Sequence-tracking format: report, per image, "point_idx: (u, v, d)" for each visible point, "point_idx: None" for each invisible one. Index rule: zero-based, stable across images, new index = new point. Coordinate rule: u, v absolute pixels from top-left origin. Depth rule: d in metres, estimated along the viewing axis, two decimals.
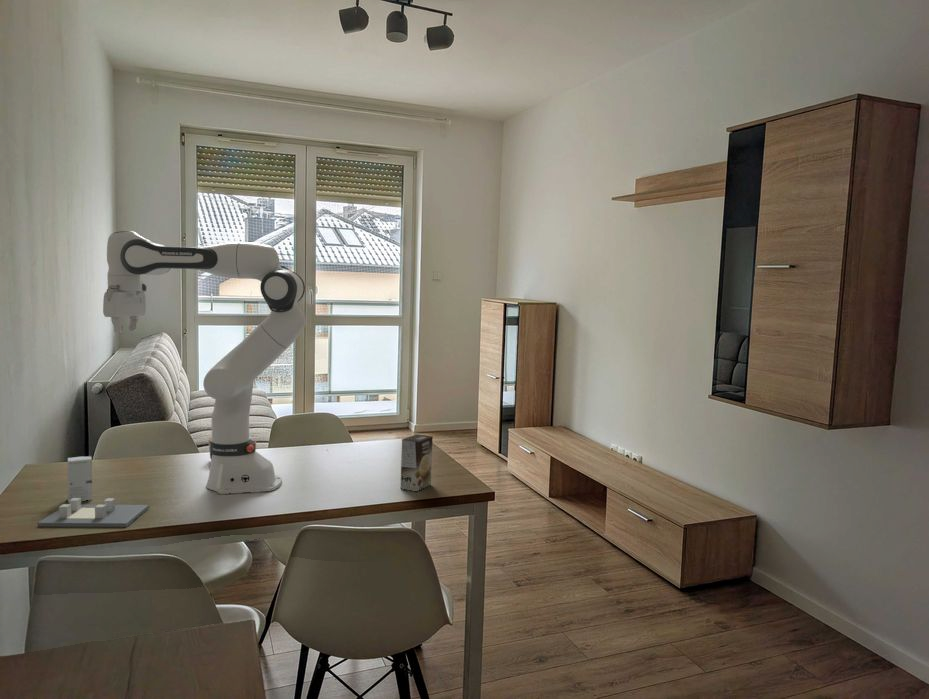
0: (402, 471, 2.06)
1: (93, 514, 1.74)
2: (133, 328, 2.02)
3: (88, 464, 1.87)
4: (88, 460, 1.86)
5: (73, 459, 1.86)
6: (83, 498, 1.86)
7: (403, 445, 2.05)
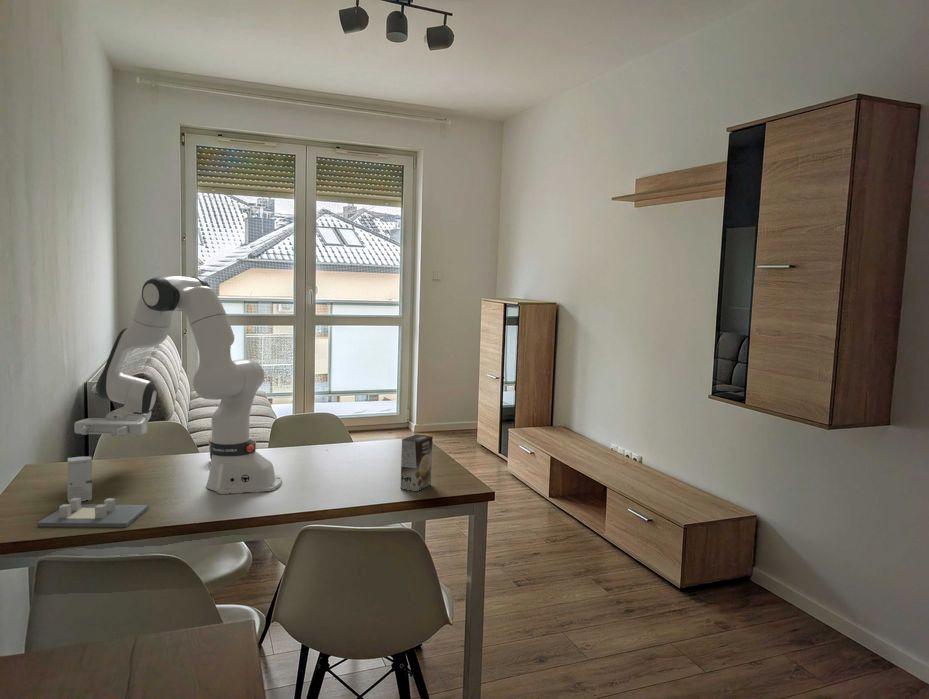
0: (402, 470, 2.06)
1: (93, 514, 1.74)
2: None
3: (88, 464, 1.87)
4: (88, 460, 1.86)
5: (73, 459, 1.86)
6: (83, 498, 1.86)
7: (403, 445, 2.05)
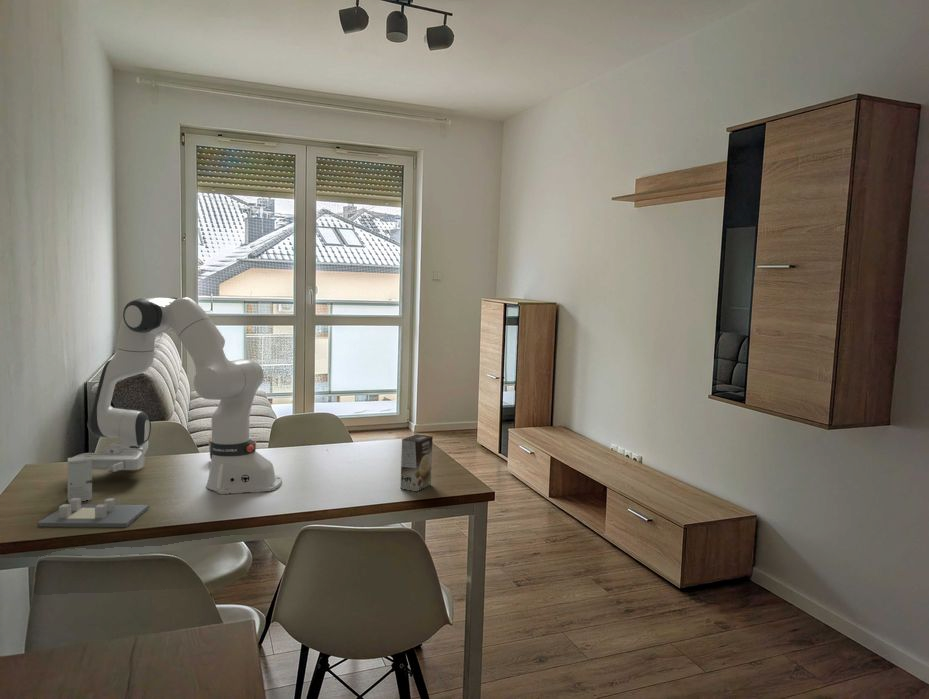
0: (402, 470, 2.06)
1: (93, 514, 1.74)
2: None
3: (88, 464, 1.87)
4: (88, 460, 1.86)
5: (73, 459, 1.86)
6: (83, 498, 1.86)
7: (403, 445, 2.05)
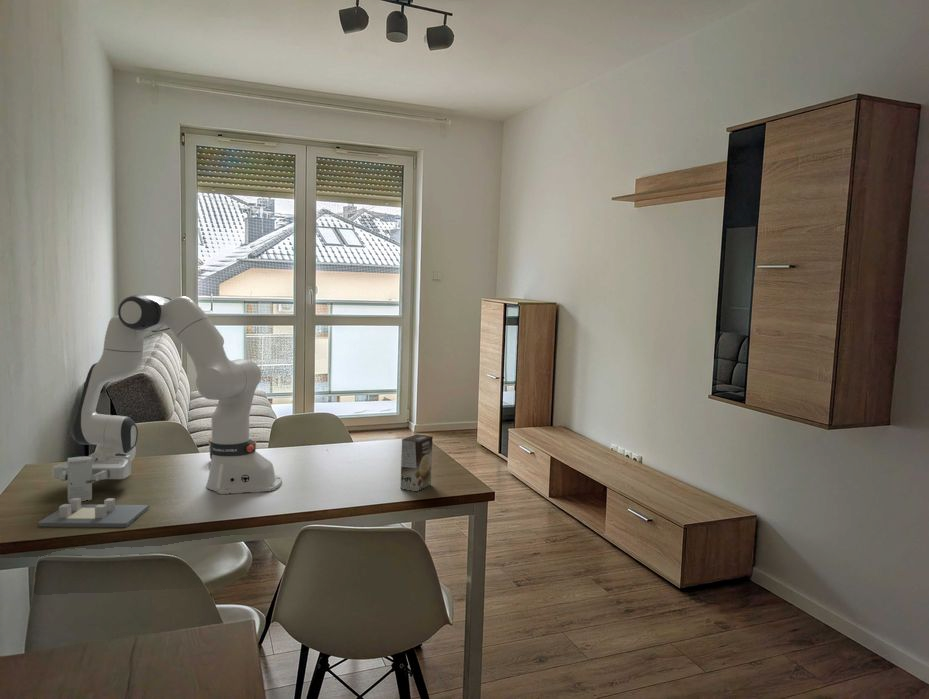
0: (402, 470, 2.06)
1: (93, 514, 1.74)
2: None
3: (88, 464, 1.87)
4: (88, 460, 1.86)
5: (73, 459, 1.86)
6: (83, 497, 1.86)
7: (403, 445, 2.05)
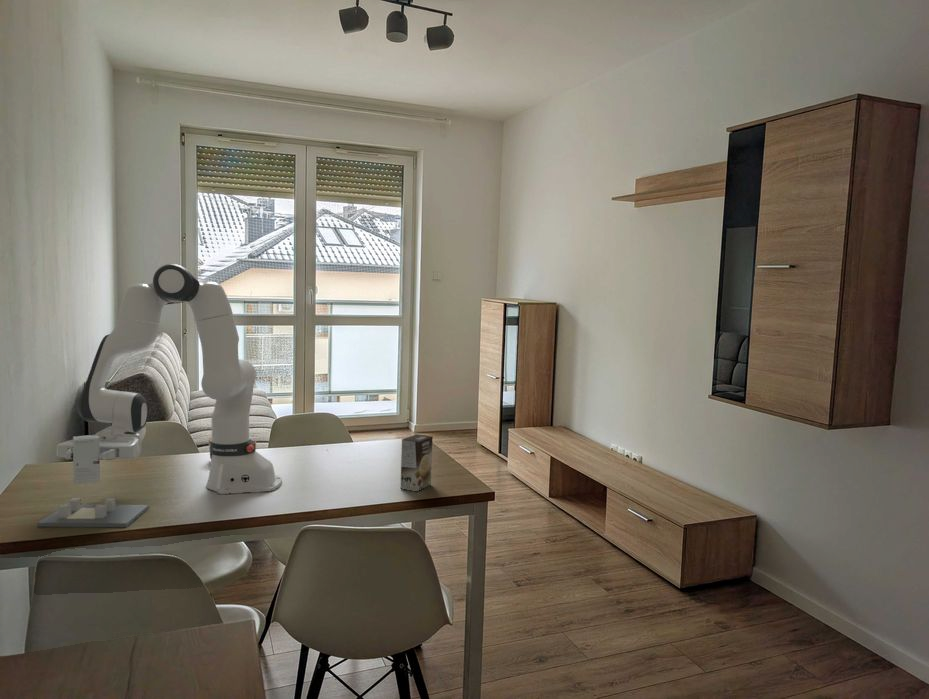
0: (402, 470, 2.06)
1: (93, 514, 1.74)
2: None
3: (95, 443, 1.72)
4: (95, 439, 1.72)
5: (79, 437, 1.72)
6: (90, 479, 1.72)
7: (403, 445, 2.05)
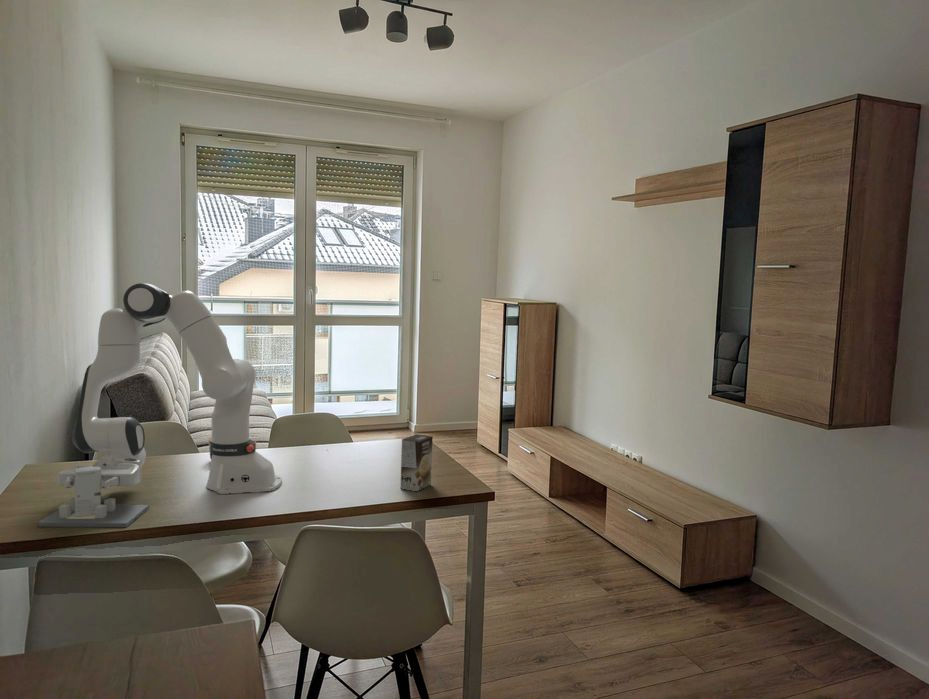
0: (402, 470, 2.06)
1: None
2: None
3: (96, 475, 1.73)
4: (97, 471, 1.73)
5: (81, 469, 1.72)
6: (91, 511, 1.73)
7: (403, 445, 2.05)
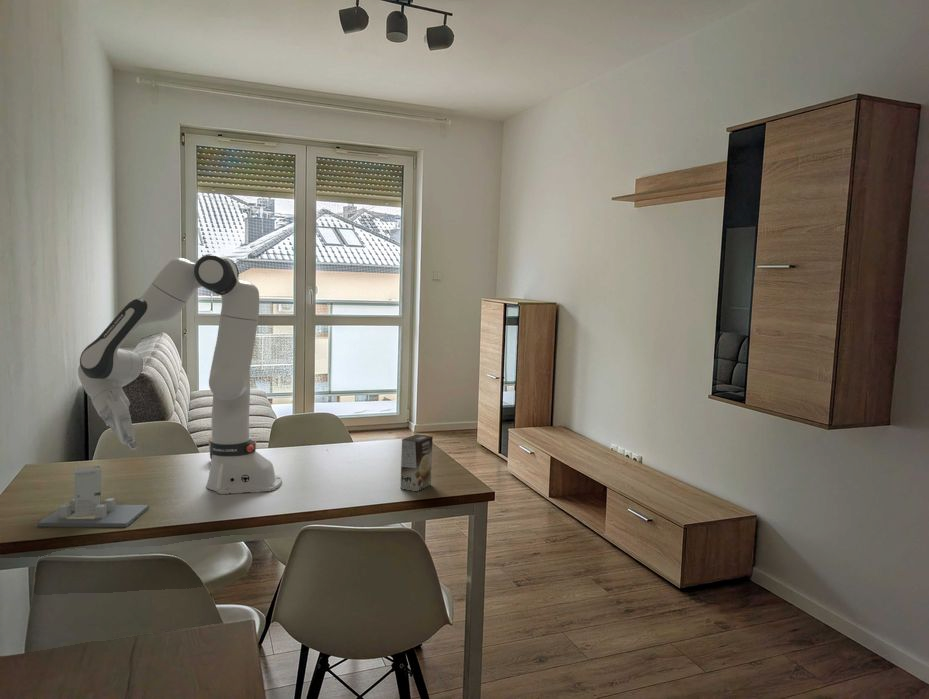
0: (402, 470, 2.06)
1: None
2: (135, 444, 1.94)
3: (96, 475, 1.73)
4: (96, 471, 1.73)
5: (81, 469, 1.73)
6: (91, 511, 1.73)
7: (403, 445, 2.05)
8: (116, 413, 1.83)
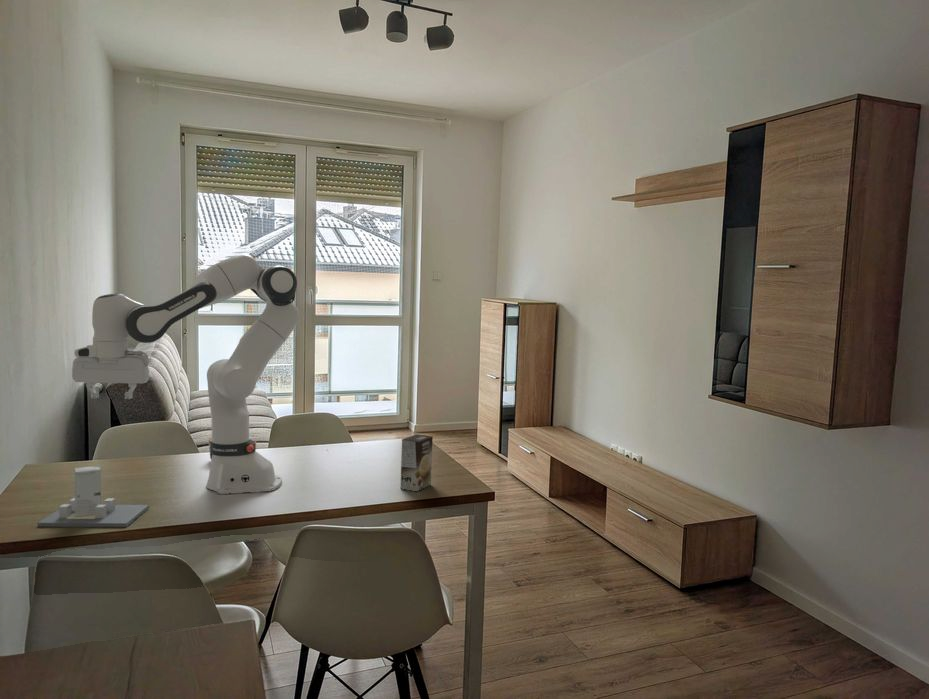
0: (402, 470, 2.06)
1: None
2: (98, 395, 1.89)
3: (96, 475, 1.73)
4: (96, 471, 1.73)
5: (81, 469, 1.73)
6: (91, 511, 1.73)
7: (403, 445, 2.05)
8: (144, 380, 1.87)
